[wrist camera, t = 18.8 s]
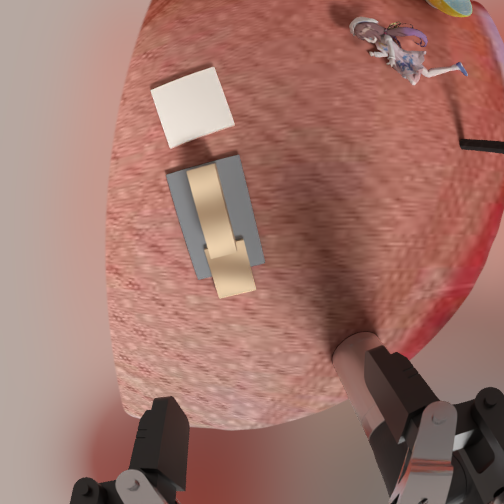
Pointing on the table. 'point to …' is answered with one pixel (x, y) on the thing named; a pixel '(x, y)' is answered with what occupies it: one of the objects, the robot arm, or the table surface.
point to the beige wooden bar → (220, 234)
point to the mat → (236, 206)
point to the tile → (192, 107)
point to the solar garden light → (482, 145)
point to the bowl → (452, 7)
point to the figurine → (398, 48)
